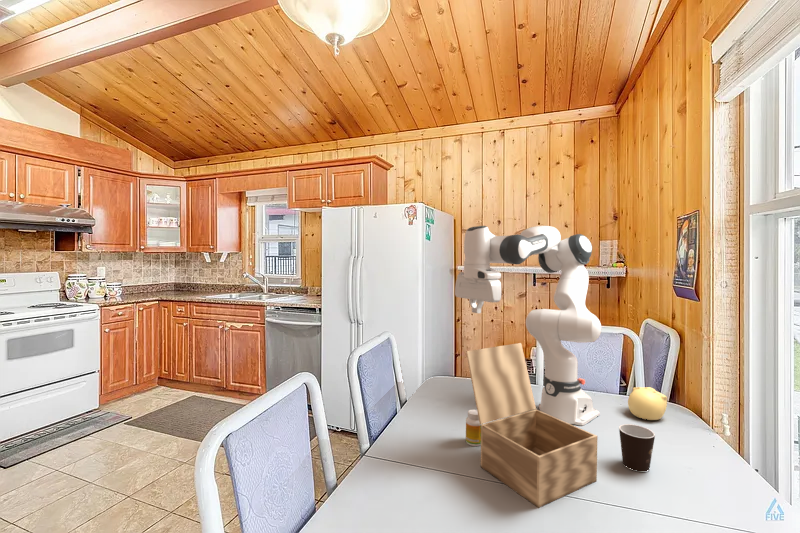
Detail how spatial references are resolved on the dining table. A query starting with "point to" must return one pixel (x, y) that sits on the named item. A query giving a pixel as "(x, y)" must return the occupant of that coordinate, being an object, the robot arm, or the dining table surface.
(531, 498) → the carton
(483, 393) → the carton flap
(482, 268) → the robot arm
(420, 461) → the dining table surface
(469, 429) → the supplement bottle
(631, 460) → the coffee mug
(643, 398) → the sculpture
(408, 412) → the dining table surface
